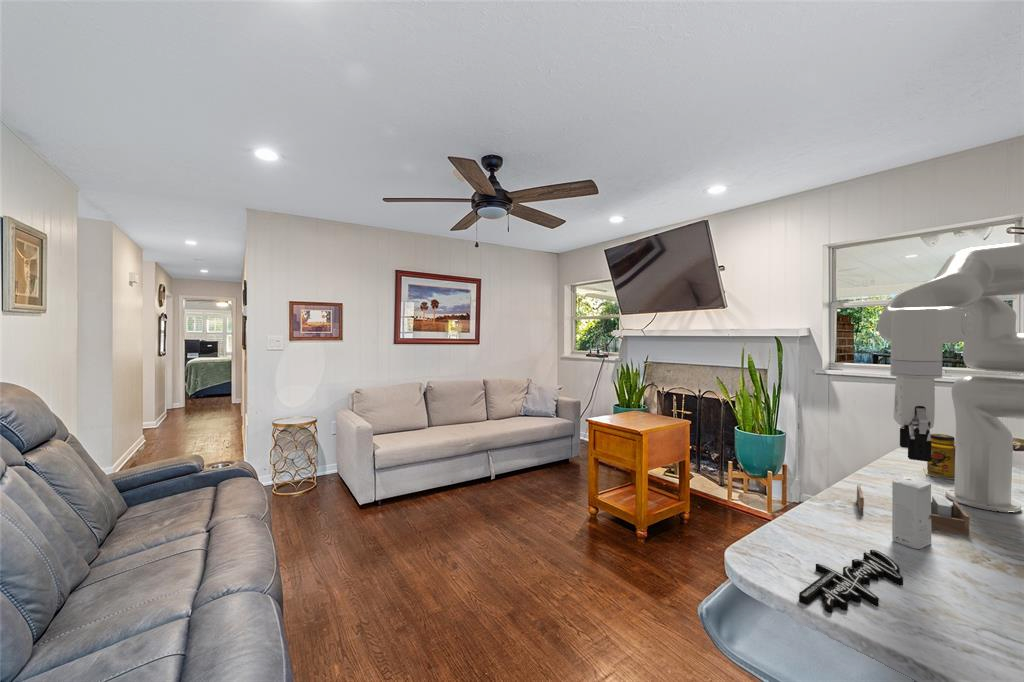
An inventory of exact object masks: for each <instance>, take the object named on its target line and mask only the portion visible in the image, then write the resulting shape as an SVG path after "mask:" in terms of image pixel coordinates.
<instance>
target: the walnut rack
mask: <svg viewBox="0 0 1024 682" xmlns="http://www.w3.org/2000/svg"><path fill="white" fill-rule="evenodd" d="M864 499H865V498H864V495H863V490H862V487H861V485H858V484H857V485H856V503H857V509H858V512H859V515H860V514H861V516H864V510H865V509H864V506H865V504H864V503H865V500H864ZM949 505H950V506H951V517H945V516H940V515H934V514H932V501H931V530H937V531H942V532H947V533H952V534H957V535H961V534H962V535H963V536H967V537H968V536H970V516H969V515H968V514H967V512H966V511H965V510H964V509H963V508H962V507H961V505H960V503H958V502H956V501H953V500H952V504H949ZM962 535H961V536H962Z"/></svg>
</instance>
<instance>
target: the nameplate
mask: <svg viewBox="0 0 1024 682" xmlns="http://www.w3.org/2000/svg"><path fill="white" fill-rule="evenodd" d="M862 557H863V558H862V559H863V560H862V559H859V558H856V559H855V558H854V559H852V560H851V566H843V567H842V574H841V573H839V572H838V571H836V570H834V569H832V568H830V567H828V566H825V565H823V564H820V563H815V571H816V572H817V573H820V574H821V575H822V576H820V577H819V578H818V579H816V580H815V581H814V582H812V583H811V584H809V585H808V586H807V587H805V588H804V589H803V590H801V591H799V593H798V601H799V603H800V604H803V605H807V606H808V605H810V604H811V603H812V602H813V601H815V600H816V599H817V598H818V597H821V601H822V603H823V604H824V605H823V606H824V611H825V612H827V613H828V614H833V612H834V611H833V610H834V608H838V609H839V610H841V611H847V612H848V610H849V602H850V601H852V602H854V603H855V604H860V603H862V599H863V600H864V601H866V602H867V603H868V604H870V603H871V604H870V605H872V604H873V605H872V606H874V605H875V606H874V607H879V603H880V598H879V597H878V596H877V595H875V594H874V593H873V592H872V591H870V590H869V589H868V588H866V585H867V586H870V585H871V581H875V582H878V581H879V579H887V580H888V581H890V582H891V583H893V584H895V585H898V586H903V585H904V577H903V576H902V575H901V574H900V573H901V569H900V567H899V564H897V563H896V562H895V561H894V560H893V559H892V558H891V557H890V556H887V555H886V554H885V553H883V552H881V551H878V550H876V549H870V550H869V552H863V555H862Z"/></svg>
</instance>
